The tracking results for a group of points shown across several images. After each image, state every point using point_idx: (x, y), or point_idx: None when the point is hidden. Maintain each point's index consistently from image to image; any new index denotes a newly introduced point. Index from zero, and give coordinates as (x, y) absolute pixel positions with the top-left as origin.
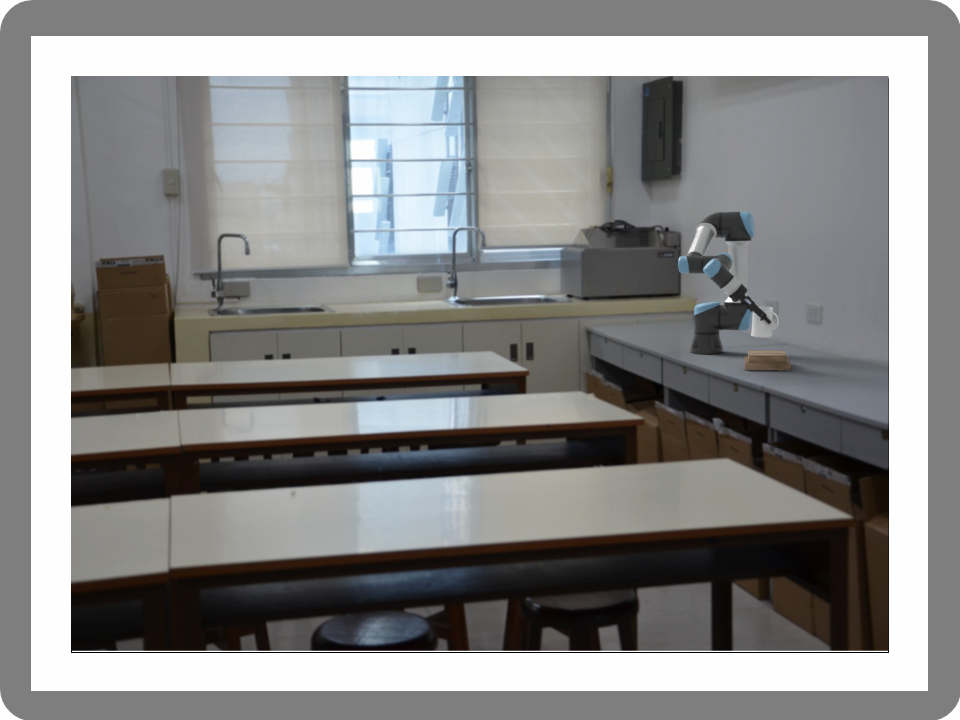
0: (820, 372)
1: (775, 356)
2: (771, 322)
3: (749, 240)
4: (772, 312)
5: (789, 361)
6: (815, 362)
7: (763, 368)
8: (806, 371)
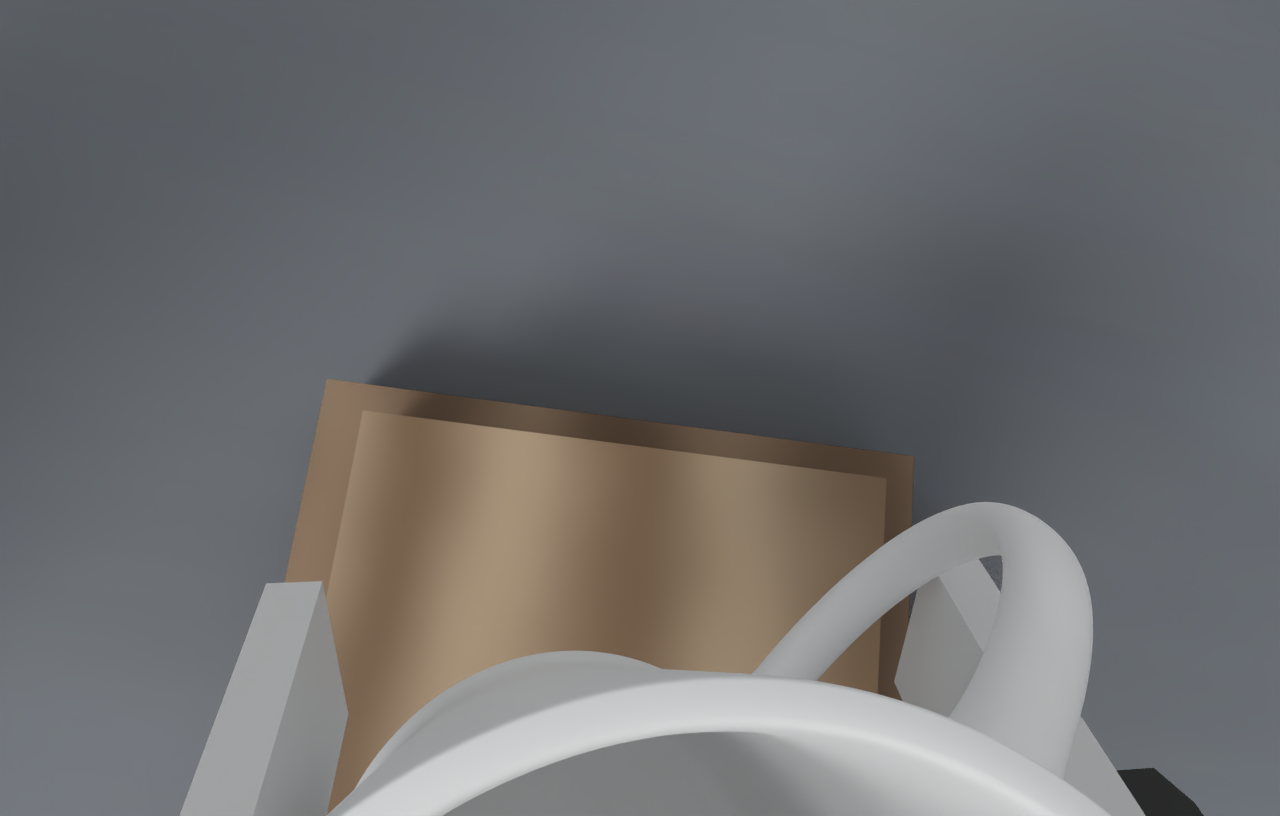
0: (945, 199)
1: (875, 637)
2: None
3: None
4: (1072, 742)
5: (723, 437)
6: (266, 89)
7: None
8: (889, 315)
